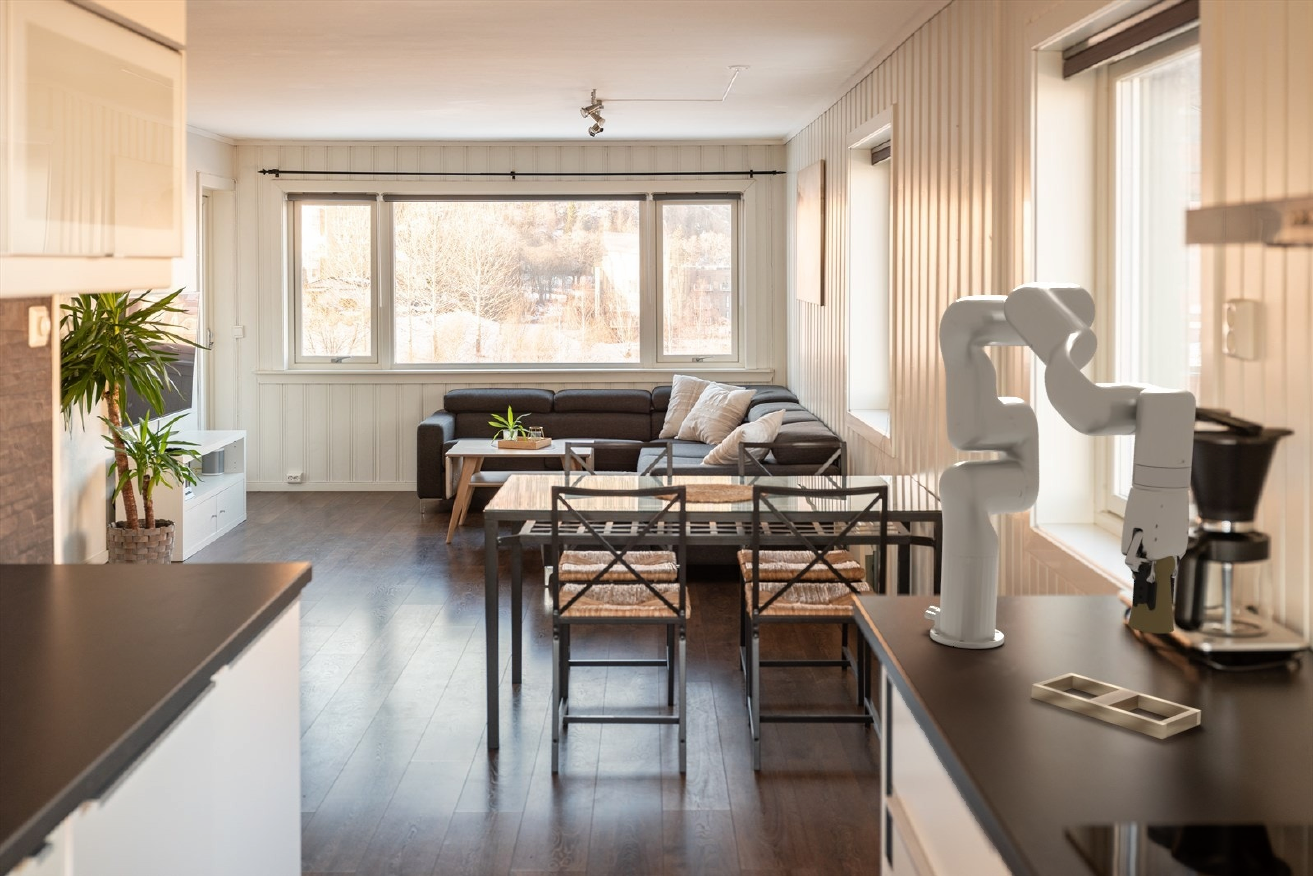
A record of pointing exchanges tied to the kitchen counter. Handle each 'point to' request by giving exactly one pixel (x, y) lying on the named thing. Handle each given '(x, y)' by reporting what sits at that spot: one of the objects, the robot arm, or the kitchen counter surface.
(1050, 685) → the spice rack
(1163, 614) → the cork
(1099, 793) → the kitchen counter surface
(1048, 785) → the kitchen counter surface
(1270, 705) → the kitchen counter surface
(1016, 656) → the kitchen counter surface
